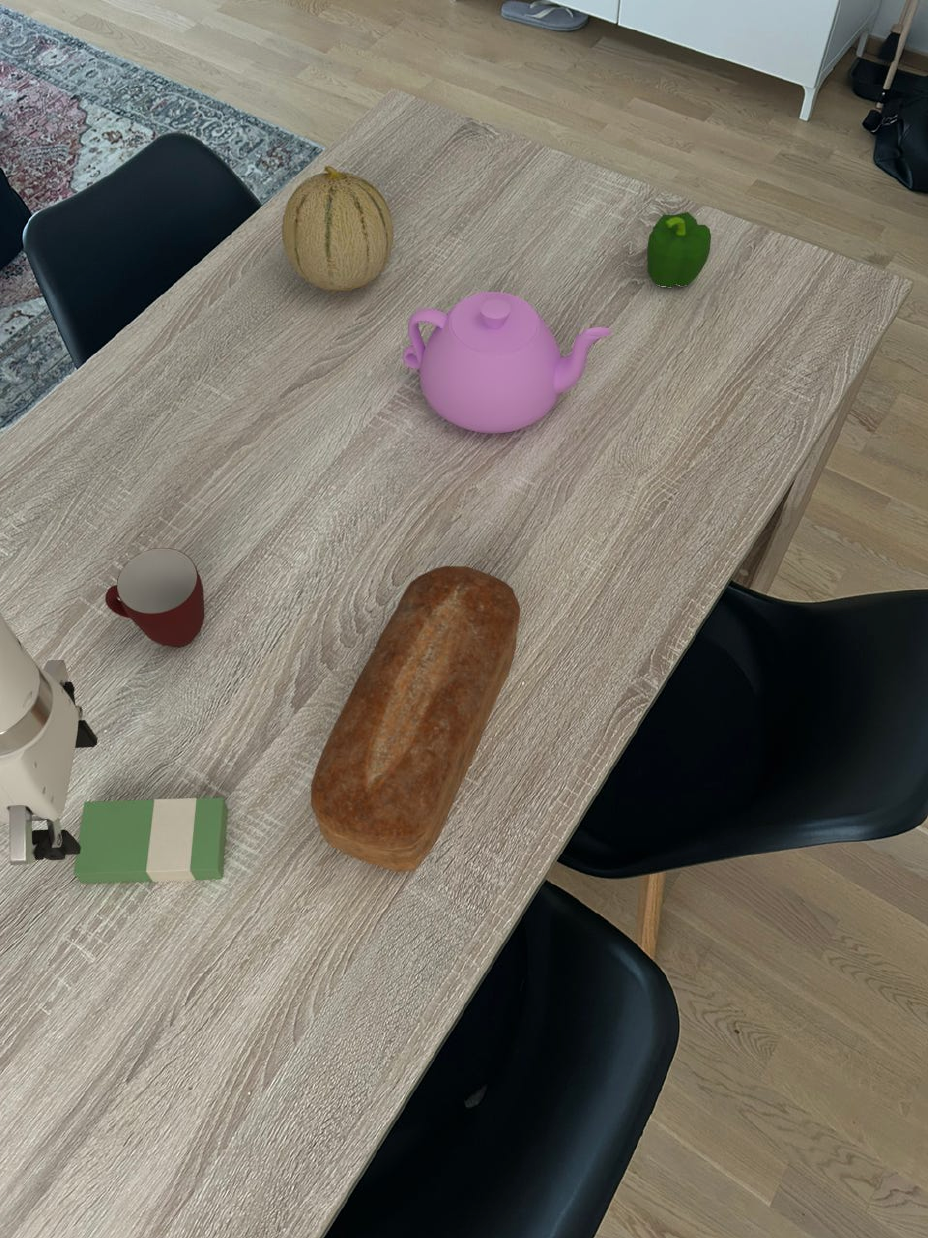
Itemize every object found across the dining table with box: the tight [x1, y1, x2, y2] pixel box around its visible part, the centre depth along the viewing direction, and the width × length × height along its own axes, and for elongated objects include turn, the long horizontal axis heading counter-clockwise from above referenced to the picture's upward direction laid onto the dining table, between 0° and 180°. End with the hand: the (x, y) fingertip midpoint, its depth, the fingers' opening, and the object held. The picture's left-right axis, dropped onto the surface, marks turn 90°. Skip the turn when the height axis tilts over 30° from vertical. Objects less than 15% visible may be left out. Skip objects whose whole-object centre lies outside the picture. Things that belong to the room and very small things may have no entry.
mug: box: [104, 547, 205, 649], centre depth 108 cm, size 11×8×10 cm
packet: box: [73, 797, 229, 885], centre depth 98 cm, size 13×7×3 cm, turn 93°
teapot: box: [402, 291, 612, 435], centre depth 126 cm, size 25×18×14 cm
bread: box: [310, 565, 521, 873], centre depth 100 cm, size 12×31×14 cm, turn 158°
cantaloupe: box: [281, 165, 394, 292], centre depth 136 cm, size 15×15×15 cm
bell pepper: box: [646, 211, 712, 288], centre depth 139 cm, size 8×8×10 cm
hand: (71, 796), depth 88 cm, fingers open, 9 cm apart
